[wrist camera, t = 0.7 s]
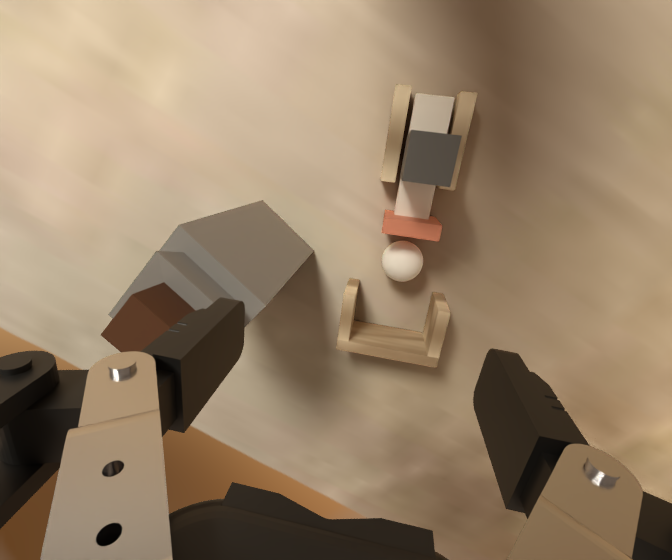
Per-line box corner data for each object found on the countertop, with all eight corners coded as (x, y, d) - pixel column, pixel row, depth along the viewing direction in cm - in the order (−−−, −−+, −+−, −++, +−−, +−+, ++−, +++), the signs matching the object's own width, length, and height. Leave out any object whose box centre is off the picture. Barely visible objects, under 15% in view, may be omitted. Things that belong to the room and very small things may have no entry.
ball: (385, 234, 31) (384, 242, 28) (425, 240, 31) (429, 249, 28) (379, 271, 33) (377, 283, 29) (417, 277, 32) (420, 290, 29)
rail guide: (395, 89, 27) (395, 84, 26) (471, 97, 27) (477, 92, 25) (381, 179, 30) (380, 180, 28) (450, 188, 29) (454, 190, 27)
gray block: (404, 97, 27) (409, 71, 20) (460, 103, 27) (487, 79, 19) (383, 223, 31) (380, 243, 23) (432, 230, 30) (445, 253, 23)
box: (349, 278, 33) (343, 294, 29) (443, 293, 32) (450, 312, 28) (342, 327, 35) (336, 349, 31) (430, 343, 34) (436, 368, 30)
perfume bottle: (314, 250, 33) (233, 343, 16) (270, 294, 35) (159, 416, 18) (262, 200, 32) (120, 242, 15) (221, 248, 34) (57, 332, 17)
